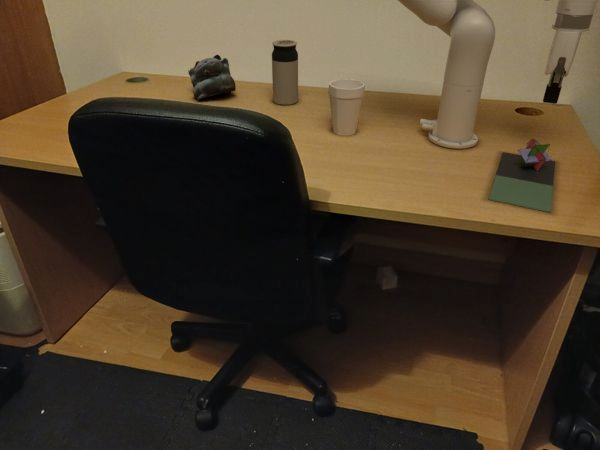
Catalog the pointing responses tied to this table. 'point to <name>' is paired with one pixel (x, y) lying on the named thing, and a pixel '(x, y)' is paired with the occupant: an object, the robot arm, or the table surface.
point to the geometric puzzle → (534, 154)
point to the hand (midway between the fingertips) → (549, 101)
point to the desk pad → (523, 183)
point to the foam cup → (345, 104)
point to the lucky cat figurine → (211, 77)
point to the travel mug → (285, 72)
